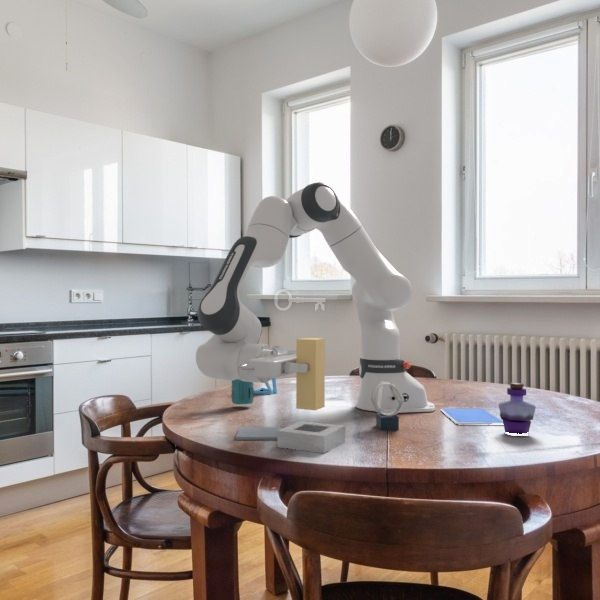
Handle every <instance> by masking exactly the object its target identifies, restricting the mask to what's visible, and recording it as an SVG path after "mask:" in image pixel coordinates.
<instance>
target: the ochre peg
mask: <svg viewBox="0 0 600 600" xmlns="http://www.w3.org/2000/svg"><path fill="white" fill-rule="evenodd" d="M325 340H326V339H325V338H323V337H303V338H302V337H301V338H296V347H295V348H296V350H295V351H296V363H308V364H309V365H310V367H309V368H310V370H309V371H308V372H296V373H295V374H296V384H295V386H296V387H295V389H296V390H295V391H296V392H295V393H296V395H295V399H296V401H295V402H296V403H295V405H296V408H295V409H298V410H307V411H318V410H320V409H322V408H325V407H326V406H325V399H326V398H325V397H326V395H325V393H326V392H325V389H326V388H325V385H326V384H325V383H326V382H325V381H326V379H325V377H326V376H325V374H326V373H325V371H326V370H325V368H326V366H325V365H326V364H325V363H326V357H325V355H326V354H325V353H326V352H325V351H326V348H325V346H326V345H325V344H326V343H325V342H326V341H325Z"/></svg>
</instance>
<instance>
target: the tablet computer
mask: <svg viewBox="0 0 600 600" xmlns="http://www.w3.org/2000/svg"><path fill="white" fill-rule="evenodd" d="M440 410H441V411H442V412H443V413H444V414H445V415H444V416H446V417H447V418H448V419H449V418H450V419H451V420H450V419H449V420H450V421H451V422H453V423H454V424H455V425H456V424H492V423H503V420H502V419H501V418H498V417H497V416H495V415H494V414H492V413H491V412H489V411H487V410H485V409H484V408H441V409H440ZM440 410H439V411H440ZM441 411H440V412H441ZM442 412H441V413H442ZM443 413H442V414H443Z"/></svg>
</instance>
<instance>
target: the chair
mask: <svg viewBox="0 0 600 600" xmlns="http://www.w3.org/2000/svg"><path fill="white" fill-rule="evenodd" d="M271 382H272V387H271V385H270V383H269V381H268V382H266V383H264V384H265V387H259V388H258V387H257V388H253V393H254V395H255V394H256V395H257V394H259V395H271V394H272V395H273V394H278V388H277V378H271ZM260 390H263V391H260Z"/></svg>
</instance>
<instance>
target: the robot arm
mask: <svg viewBox="0 0 600 600" xmlns="http://www.w3.org/2000/svg"><path fill="white" fill-rule="evenodd" d="M315 229H316V230H317V231H319V232H320V233H321V234H322V236H323V238H324V241H325V242H326V243H327V245H328V246H329V248H330V250H331V252H332V253H333V254H334V256H335V258H336V259H337V261H338V262H339V264H340V266H341V267H342V269H343V270H344V271H345V272H347V273H348V274H349V275H350V276H351V277H352V278H353V279H354V280H355V282H354V284H353V285H352V288H351V296H352V299H353V302H354V303H355V306H356V311H357V317H358V321H359V326H360V337H361V338H360V340H361V341H360V342H361V343H360V345H361V347H360V348H361V350H360V351H361V353H360V355H361V357H360V358H359V365H358V367H359V368H358V369H359V372H358V373H359V377H360V382H359V383H360V384H359V391H358V395H357V400H356V403H355V407H356V408H357V409H360V410H363V411H370V412H376V413H378V412H377V410H376V409H375V407H374V406H373V403H372V401H371V393H372V390H373V389H374V387H375V386H376V385H378V384H380V383H383V382H388V383H391V384H393V383H394V384H395V385H396V386H397V387H398V389H399V390H400V392H401V394H402V395H403V397H404V401H403V407H402V409H401V410H400V411H399V413H400V414H401V413H403V414H404V413H427V412H429V413H430V412H434V411H435V410H436V405H435V404H434V403H433V402H431V401H428V397H427V396H428V395H427V392H426V388H425V386H424V385H423V384H422V383H421V382H419V381H418V380H417V379H416V378H415V377H413V376H412V375H411V374H409V373H408V370H409V369H410V368H411V366H412V365H411V363H410V361H406V360H403V359H402V358H400V357H401V356H400V355H401V354H400V352H401V348H400V344H401V343H400V340H401V339H400V336H401V335H400V334H401V333H400V330H399V328H398V326H397V324H396V321H395V317H394V313H393V312H394V311H397V310H400V309H402V308H404V307H405V306H407V305H408V304H409V303H410V302H411V299H412V296H413V286H412V284H411V282H410V280H409V279H408V278H407V277H406V276H404V275H403V274H402V273H400V272H399V271H398V270H397V269H396V268H395V267H394V266H393V265H392V264H391V263H390V262H389V260H388V259H386V257H385V256H384V255H383V254H382V253H381V252H380V250H379V249H378V248H377V247H376V245H375V244H374V243H373V241H372V239H371V237H370V236H369V234H368V233H367V231H366V229H365V228H364V226H363V224H362V223H361V221H360V220H359V218H358V217H357V216H356V214H355V212H353V210H352V209H351V208H350V207H349V206H348V205H347V204H346V203H345V202H344V201H343V200H342V199H339V197H338V195H337V194H336V192H335V191H334V189H333V188H332V187H330V186H329V185H328V184H326V183H324V182H321V181H319V182H314V183H310V184H307V185H306V186H305V187H304V188H301V189H299V190H296V192H294V193H292V194H291V195H290V196H289V197H287V198H286V199H284V198H282V197H279V196H274V195H272V196H271V195H270V196H267V197H264V198H263V199H261V201H259V203H258V205H257V206H256V209H255V210H254V212H253V213H252V216H251V219H250V220H249V223H248V226H247V228H246V231H245V234H244V235H243V236H241V237H239V238H238V239H237V240H236V241H235V242H234V244H233V245H232V247H231V248H230V250H229V251H228V253H227V256H226V258H225V259H224V261H223V264H222V266H221V267H220V270H219V271H218V273H217V276H216V277H215V279H214V280H213V281H214V282H213V283H212V285H211V287H210V288H209V290H208V291H207V292H206V294H205V295H204V296H203V297H202V299H201V300H200V302H199V306H198V308H197V319H198V320H197V321H198V323H199V324H200V326H202V328H204V329H205V330H207V331H209V332H210V333H212V334H213V335H212V336H211V337H210V338H209V339H208V340H207V341H206V342H204V343H202V344H200V345H199V346H197V350H196V352H195V363H196V365H197V369H198V370H199V371H200V373H201V374H203V375H204V376H205V377H207V378H211V379H215V380H220V381H221V380H223V381H232V380H236V379H239V380H242V381H245V382H253V383H259V384H265V383H266V382H268V383H269V381H270V380H272V378H276V379H277V378H280V377H283V376H284V377H285V376H288V375H291V374H296V372H308V371H309V370H310V368H309V367H310V365H309V364H308V363H296V350H294V349H284V348H283V346H276V345H275V346H274V345H273V346H272V345H270V344H267V343H260V338H261V336H262V333H263V332H262V331H263V325H262V322H261V320H260V319H259V318H258V317H257V315H256V314H255V313H253V311H251V309H249V308H248V307H247V306H246V305H245V304H243V302H242V301H241V298H240V293H239V292H240V288H241V286H242V284H243V282H244V280H245V278H246V276H247V273H248V271H249V269H250V267H254V268H265V269H266V268H270V267H273V266H275V265H277V264H279V263H280V262H281V260H282V259H283V257H284V255H285V252H286V250H287V247H288V245H289V244H288V243H289V241H290V239H295V238H298V237H301V236H302V235H304V234H307V233H310V232H312V231H314V230H315ZM374 396H375V400H376V403H377V405H378V407H379V408H380V409H381V412H383V413H391V412H393V411H395V410H396V409H397V407H398V406H399V403H398V401H397V400H396V399H395V397H394V396H393V394H392V392H391V390H390V386H389V385H384V386H381V387H380V388H378V389H377V390H376V392H375V394H374ZM399 413H398V414H399Z"/></svg>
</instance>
